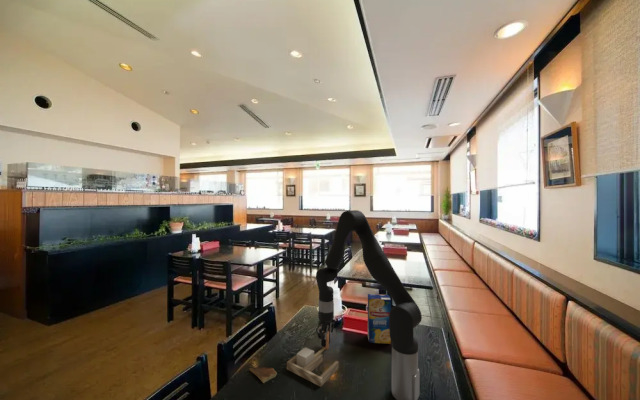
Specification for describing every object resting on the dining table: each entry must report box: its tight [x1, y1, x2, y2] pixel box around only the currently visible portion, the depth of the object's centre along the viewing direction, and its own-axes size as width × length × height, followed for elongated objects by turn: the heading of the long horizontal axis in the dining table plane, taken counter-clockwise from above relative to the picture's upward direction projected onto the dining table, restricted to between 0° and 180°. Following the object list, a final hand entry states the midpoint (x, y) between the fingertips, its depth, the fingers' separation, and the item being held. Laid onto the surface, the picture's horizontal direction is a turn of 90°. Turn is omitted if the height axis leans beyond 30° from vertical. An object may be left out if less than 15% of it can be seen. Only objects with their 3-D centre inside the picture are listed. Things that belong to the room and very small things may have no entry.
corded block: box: [296, 331, 330, 368], centre depth 115 cm, size 5×20×8 cm, turn 146°
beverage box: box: [367, 293, 392, 345], centre depth 130 cm, size 7×11×22 cm, turn 85°
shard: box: [249, 367, 278, 384], centre depth 104 cm, size 11×8×2 cm
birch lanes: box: [286, 353, 340, 388], centre depth 106 cm, size 18×13×3 cm
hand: (325, 344), depth 122 cm, fingers closed on corded block, 3 cm apart
